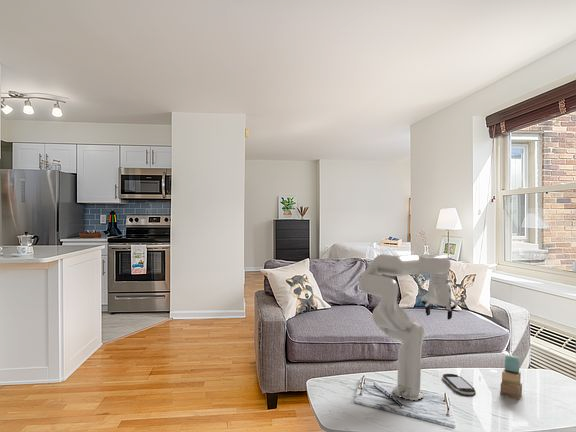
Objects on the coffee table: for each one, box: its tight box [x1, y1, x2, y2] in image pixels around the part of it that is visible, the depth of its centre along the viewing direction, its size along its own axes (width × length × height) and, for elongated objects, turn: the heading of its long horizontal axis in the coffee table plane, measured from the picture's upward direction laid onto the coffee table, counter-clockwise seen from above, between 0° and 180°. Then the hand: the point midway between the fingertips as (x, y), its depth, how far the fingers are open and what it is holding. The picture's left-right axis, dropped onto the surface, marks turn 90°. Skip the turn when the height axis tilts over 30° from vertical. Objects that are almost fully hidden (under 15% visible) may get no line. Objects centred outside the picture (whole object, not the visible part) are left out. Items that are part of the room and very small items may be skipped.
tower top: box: [501, 368, 522, 388], centre depth 165 cm, size 6×6×5 cm
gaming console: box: [442, 373, 477, 396], centre depth 172 cm, size 19×9×2 cm, turn 1°
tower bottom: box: [499, 381, 523, 401], centre depth 165 cm, size 7×7×5 cm
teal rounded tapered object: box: [504, 354, 520, 372], centre depth 166 cm, size 6×6×6 cm
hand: (438, 317), depth 177 cm, fingers open, 9 cm apart
